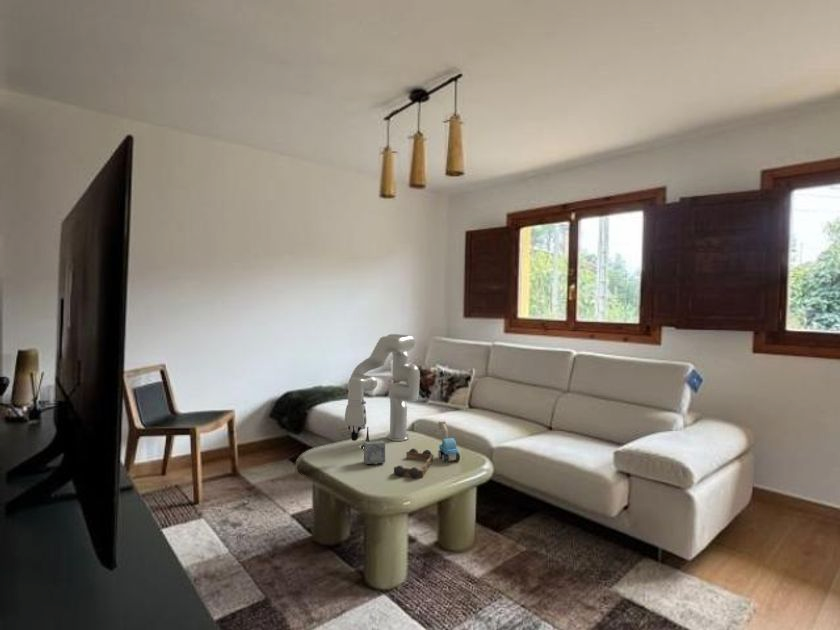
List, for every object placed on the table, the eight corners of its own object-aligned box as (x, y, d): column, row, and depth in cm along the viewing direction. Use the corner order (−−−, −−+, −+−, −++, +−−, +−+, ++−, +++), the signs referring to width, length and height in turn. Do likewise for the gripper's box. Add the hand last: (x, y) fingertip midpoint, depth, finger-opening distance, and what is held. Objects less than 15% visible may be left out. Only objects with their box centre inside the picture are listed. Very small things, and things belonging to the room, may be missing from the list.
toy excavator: (448, 451, 241) (449, 419, 240) (461, 462, 225) (461, 428, 224) (433, 452, 238) (434, 420, 238) (444, 464, 222) (445, 429, 222)
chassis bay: (407, 456, 232) (408, 447, 232) (434, 459, 229) (434, 450, 228) (392, 475, 207) (392, 466, 207) (421, 479, 204) (421, 469, 203)
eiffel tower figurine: (382, 446, 248) (383, 422, 247) (380, 453, 238) (381, 427, 237) (355, 445, 248) (355, 421, 248) (352, 452, 238) (352, 426, 238)
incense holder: (382, 458, 228) (383, 438, 227) (385, 464, 220) (386, 443, 219) (363, 460, 225) (363, 439, 225) (365, 466, 217) (365, 444, 217)
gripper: (372, 402, 226) (371, 439, 226) (344, 400, 229) (343, 436, 230) (367, 405, 218) (366, 443, 219) (338, 403, 222) (337, 440, 222)
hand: (354, 439), depth 224 cm, fingers closed
